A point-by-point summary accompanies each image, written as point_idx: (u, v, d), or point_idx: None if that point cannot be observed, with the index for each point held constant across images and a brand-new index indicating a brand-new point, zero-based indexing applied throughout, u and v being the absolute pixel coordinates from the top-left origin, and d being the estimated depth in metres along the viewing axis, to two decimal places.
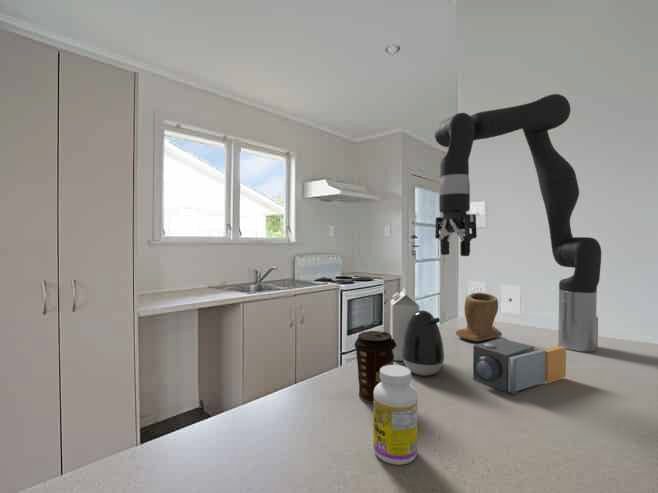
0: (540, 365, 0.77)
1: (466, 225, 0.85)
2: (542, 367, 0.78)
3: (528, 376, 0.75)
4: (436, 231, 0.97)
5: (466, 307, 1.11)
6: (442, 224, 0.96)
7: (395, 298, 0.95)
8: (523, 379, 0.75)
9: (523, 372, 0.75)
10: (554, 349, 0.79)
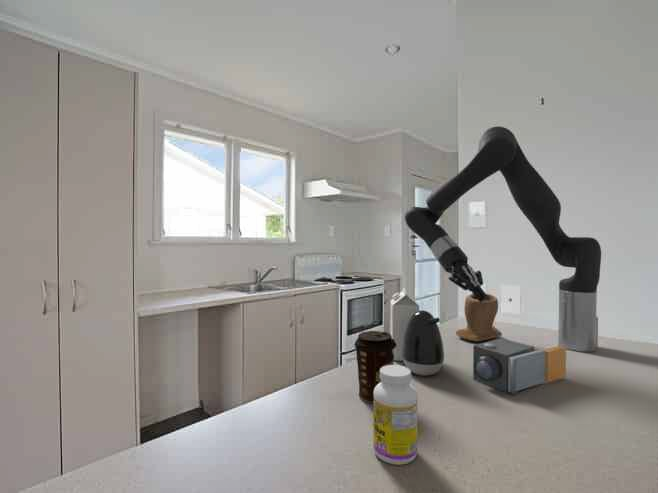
0: (540, 365, 0.77)
1: (480, 276, 1.01)
2: (542, 367, 0.78)
3: (528, 376, 0.75)
4: (465, 281, 0.97)
5: (466, 307, 1.11)
6: None
7: (395, 298, 0.95)
8: (523, 379, 0.75)
9: (523, 372, 0.75)
10: (554, 349, 0.79)
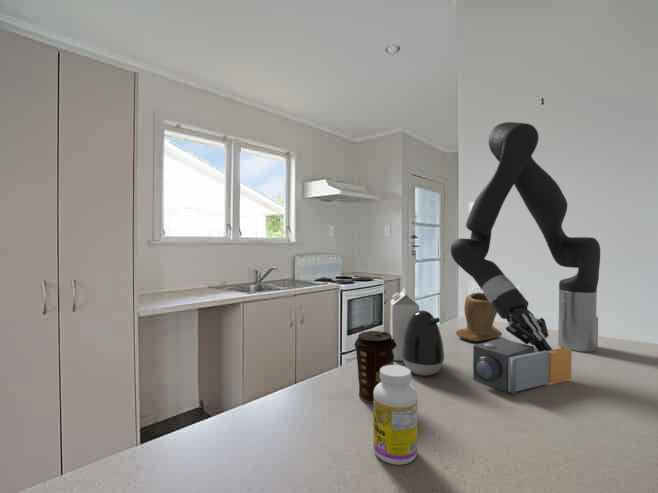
0: (542, 366, 0.77)
1: (544, 326, 0.85)
2: (545, 368, 0.77)
3: (530, 376, 0.75)
4: (527, 333, 0.81)
5: (466, 307, 1.11)
6: None
7: (395, 298, 0.95)
8: (524, 380, 0.74)
9: (524, 372, 0.74)
10: (558, 350, 0.79)
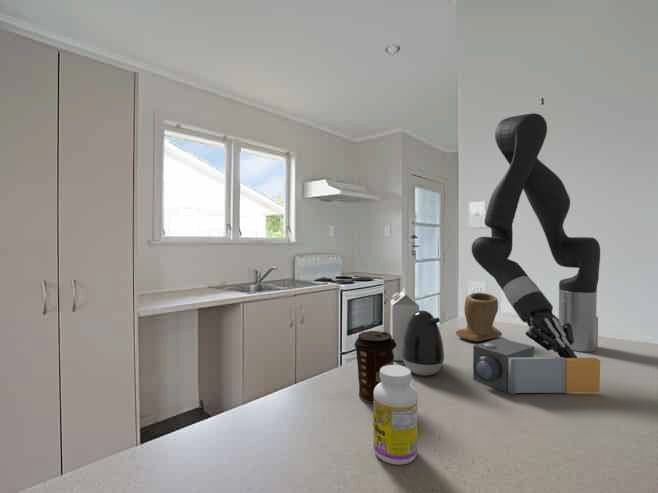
0: (555, 372, 0.73)
1: (570, 332, 0.80)
2: (559, 375, 0.73)
3: (536, 380, 0.73)
4: (549, 339, 0.76)
5: (466, 307, 1.11)
6: None
7: (395, 298, 0.95)
8: (528, 383, 0.73)
9: (528, 375, 0.73)
10: (580, 359, 0.73)
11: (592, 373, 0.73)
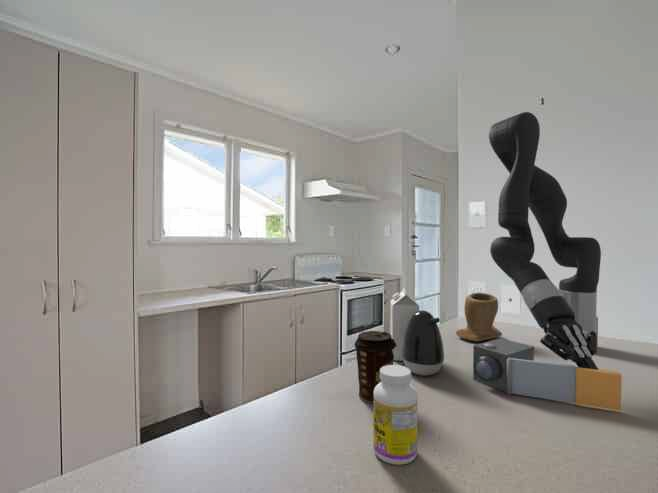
0: (563, 380, 0.69)
1: (594, 341, 0.73)
2: (568, 384, 0.68)
3: (539, 385, 0.71)
4: (565, 348, 0.71)
5: (466, 307, 1.11)
6: None
7: (395, 298, 0.95)
8: (529, 386, 0.71)
9: (529, 378, 0.71)
10: (595, 370, 0.67)
11: (610, 388, 0.65)
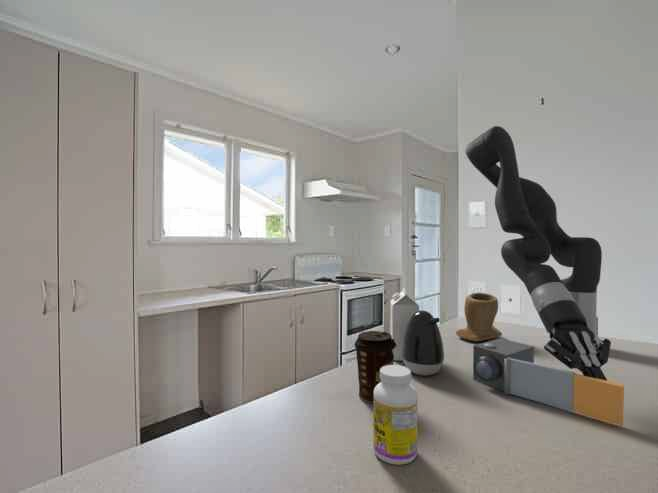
0: (561, 386, 0.66)
1: (606, 350, 0.67)
2: (566, 391, 0.66)
3: (536, 388, 0.69)
4: (569, 356, 0.66)
5: (466, 307, 1.11)
6: None
7: (395, 298, 0.95)
8: (527, 388, 0.70)
9: (527, 380, 0.70)
10: (595, 380, 0.62)
11: (611, 400, 0.61)
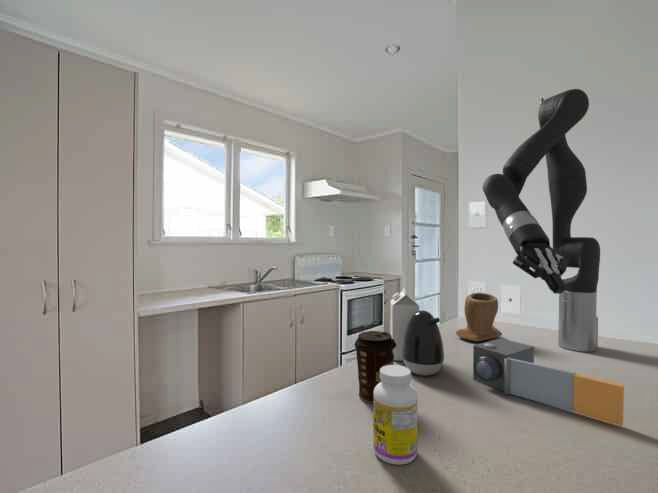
0: (561, 386, 0.66)
1: (565, 262, 0.77)
2: (566, 391, 0.66)
3: (536, 388, 0.69)
4: (534, 265, 0.76)
5: (466, 307, 1.11)
6: None
7: (395, 298, 0.95)
8: (527, 388, 0.70)
9: (526, 380, 0.70)
10: (595, 380, 0.62)
11: (611, 400, 0.61)
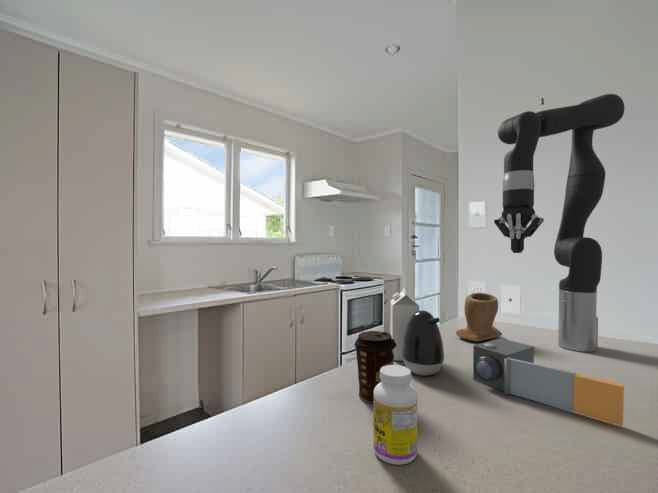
0: (561, 386, 0.66)
1: None
2: (566, 391, 0.66)
3: (536, 388, 0.69)
4: None
5: (466, 307, 1.11)
6: None
7: (395, 298, 0.95)
8: (527, 388, 0.70)
9: (526, 380, 0.70)
10: (595, 380, 0.62)
11: (611, 400, 0.61)
